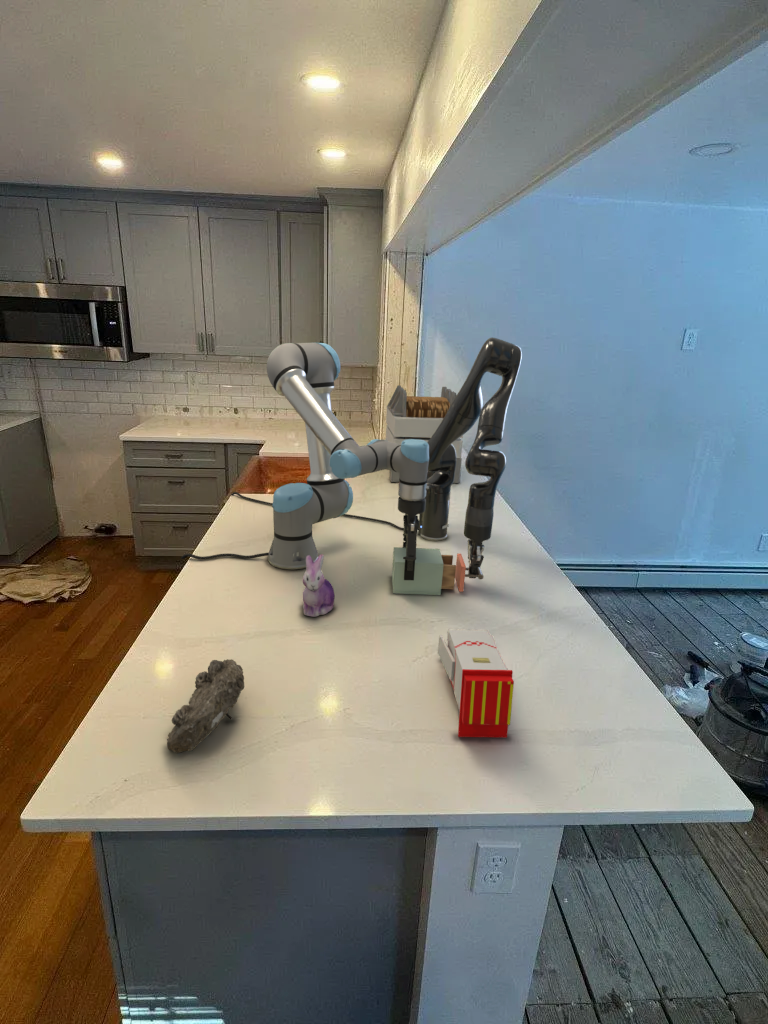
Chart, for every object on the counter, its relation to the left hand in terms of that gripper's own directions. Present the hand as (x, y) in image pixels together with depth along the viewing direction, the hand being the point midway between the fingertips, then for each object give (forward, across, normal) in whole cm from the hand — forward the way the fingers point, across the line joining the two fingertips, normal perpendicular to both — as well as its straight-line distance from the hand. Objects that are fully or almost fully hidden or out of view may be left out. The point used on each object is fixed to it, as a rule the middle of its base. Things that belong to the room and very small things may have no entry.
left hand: (407, 571), depth 161 cm
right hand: (+1, 0, -18) cm, 19 cm away
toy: (+5, -47, -11) cm, 49 cm away
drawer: (+4, 0, -12) cm, 13 cm away
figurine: (+5, -15, +24) cm, 29 cm away
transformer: (+4, +119, -13) cm, 120 cm away
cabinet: (+5, 0, -2) cm, 5 cm away
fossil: (+5, -57, +40) cm, 70 cm away
